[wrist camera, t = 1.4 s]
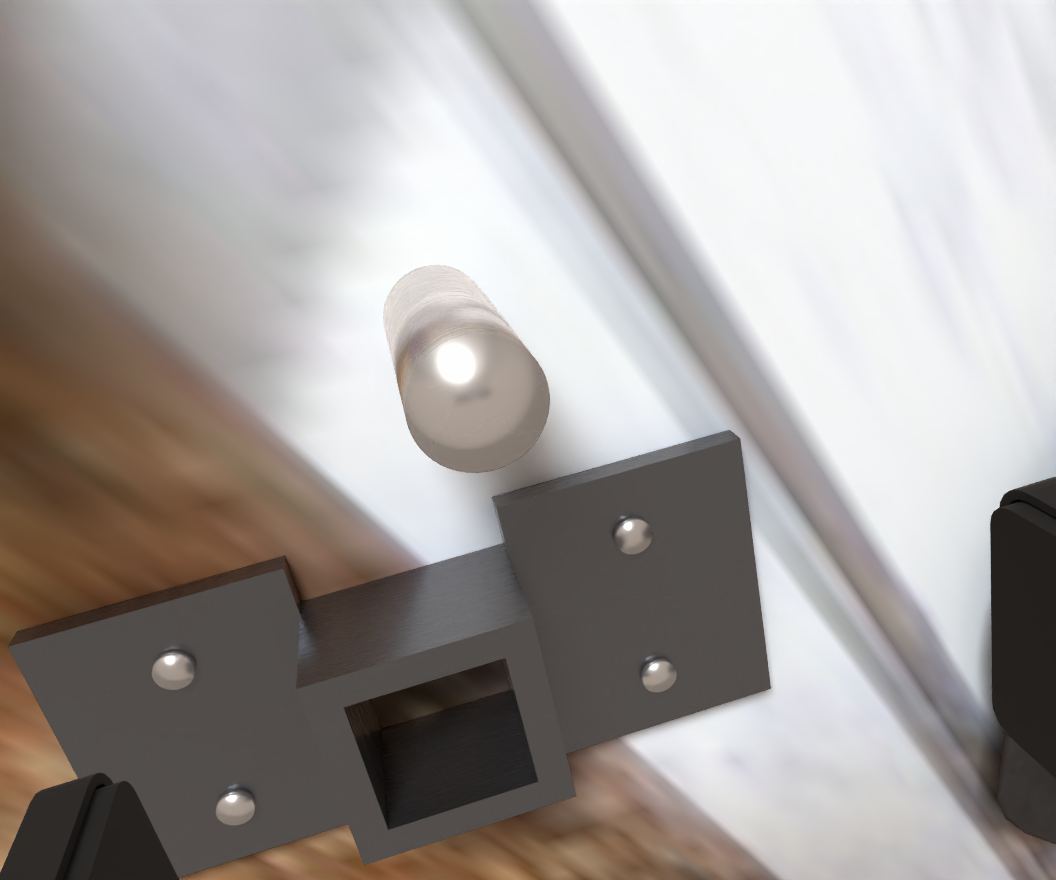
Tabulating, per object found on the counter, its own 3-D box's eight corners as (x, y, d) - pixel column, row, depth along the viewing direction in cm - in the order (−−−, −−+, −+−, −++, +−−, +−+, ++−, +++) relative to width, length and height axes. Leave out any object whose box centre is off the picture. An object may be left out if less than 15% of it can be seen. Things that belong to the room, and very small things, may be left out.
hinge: (729, 430, 29) (796, 485, 25) (760, 675, 33) (822, 758, 29) (17, 631, 26) (-42, 730, 22) (142, 871, 30) (113, 993, 26)
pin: (474, 253, 25) (533, 317, 18) (497, 353, 26) (562, 451, 19) (371, 279, 25) (388, 355, 17) (398, 379, 26) (425, 489, 19)
